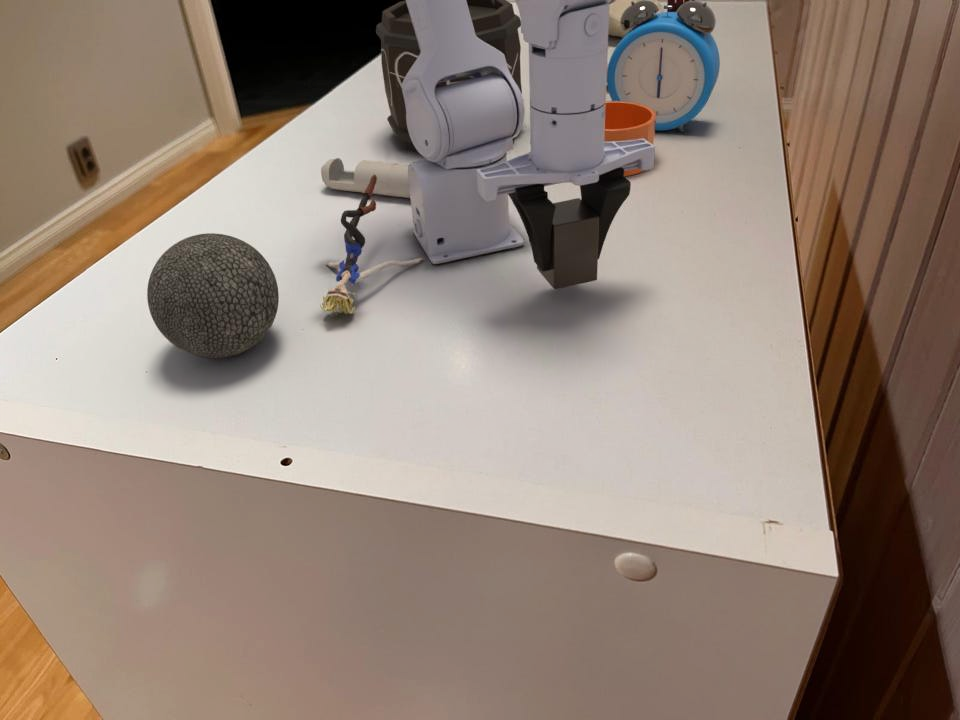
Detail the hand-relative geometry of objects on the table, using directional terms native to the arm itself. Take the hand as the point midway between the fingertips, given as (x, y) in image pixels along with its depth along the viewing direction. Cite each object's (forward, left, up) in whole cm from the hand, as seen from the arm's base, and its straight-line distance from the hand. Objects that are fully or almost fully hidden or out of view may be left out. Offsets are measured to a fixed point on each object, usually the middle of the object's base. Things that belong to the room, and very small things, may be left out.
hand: (566, 260), depth 67 cm
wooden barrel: (+3, +43, -4) cm, 43 cm away
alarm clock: (+28, +34, -4) cm, 44 cm away
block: (0, 0, -1) cm, 1 cm away
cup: (+17, +26, -4) cm, 31 cm away
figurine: (-17, +10, -4) cm, 20 cm away
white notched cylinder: (-9, +28, -4) cm, 30 cm away
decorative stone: (+46, +79, -4) cm, 91 cm away
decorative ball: (-29, +4, -4) cm, 30 cm away
